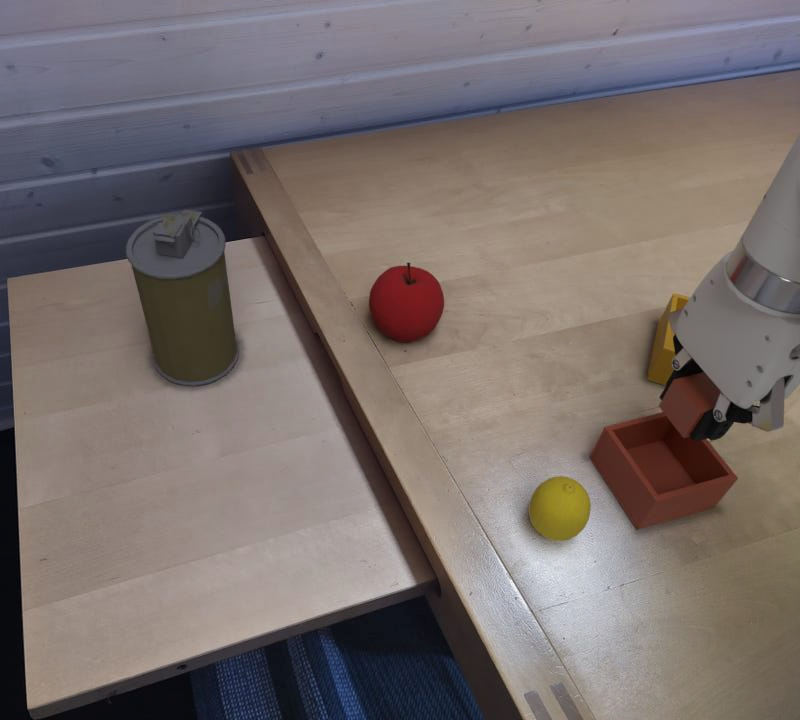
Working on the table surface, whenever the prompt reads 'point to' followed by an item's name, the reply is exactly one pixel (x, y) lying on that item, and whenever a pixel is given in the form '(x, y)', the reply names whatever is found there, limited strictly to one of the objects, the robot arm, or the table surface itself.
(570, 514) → the lemon
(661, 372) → the yellow bin
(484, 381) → the table surface
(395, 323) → the apple
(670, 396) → the clay block
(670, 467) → the clay bin
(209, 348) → the canister
